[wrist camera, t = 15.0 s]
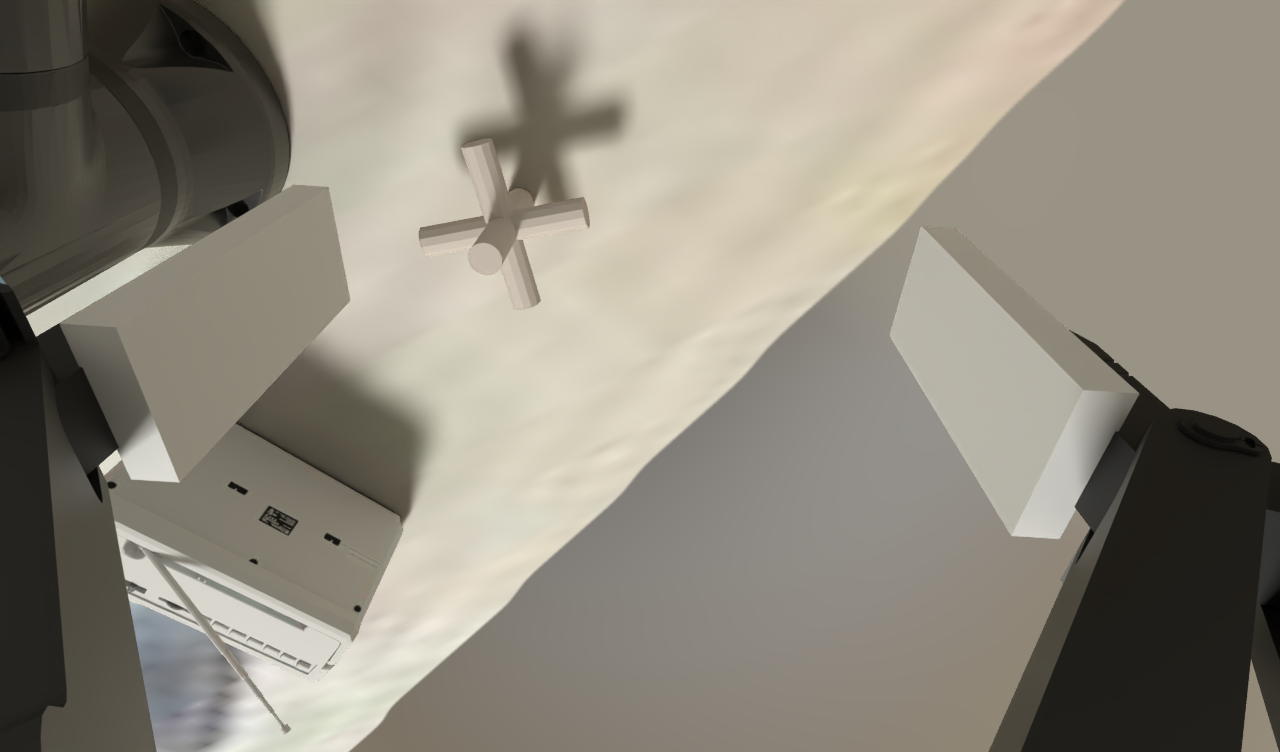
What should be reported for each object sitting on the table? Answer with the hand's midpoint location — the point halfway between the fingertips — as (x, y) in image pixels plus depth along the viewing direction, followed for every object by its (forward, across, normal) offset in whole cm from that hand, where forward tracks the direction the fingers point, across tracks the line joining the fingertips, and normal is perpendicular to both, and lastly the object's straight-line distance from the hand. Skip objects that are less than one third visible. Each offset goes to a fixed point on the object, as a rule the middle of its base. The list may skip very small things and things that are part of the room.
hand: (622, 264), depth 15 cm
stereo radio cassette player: (+29, -29, -34) cm, 53 cm away
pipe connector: (+29, -8, -8) cm, 31 cm away
